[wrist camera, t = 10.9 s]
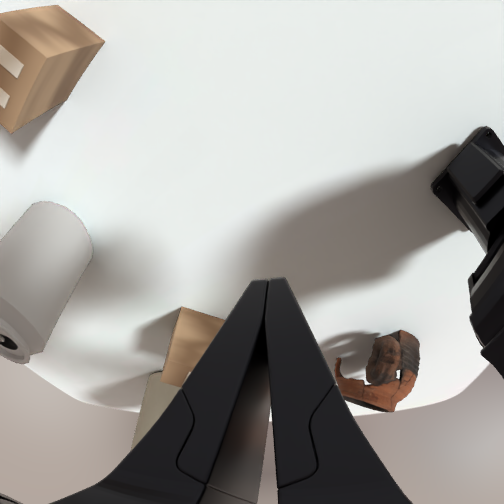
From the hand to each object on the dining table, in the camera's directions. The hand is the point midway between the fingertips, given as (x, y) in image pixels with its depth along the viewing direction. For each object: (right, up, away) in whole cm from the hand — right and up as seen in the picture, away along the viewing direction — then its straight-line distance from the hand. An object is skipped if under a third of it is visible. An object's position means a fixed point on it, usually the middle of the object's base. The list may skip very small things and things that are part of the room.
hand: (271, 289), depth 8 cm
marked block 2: (-6, -7, +24) cm, 25 cm away
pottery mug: (+13, -9, +24) cm, 29 cm away
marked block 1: (-13, +14, +7) cm, 20 cm away
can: (-17, +3, +17) cm, 24 cm away
